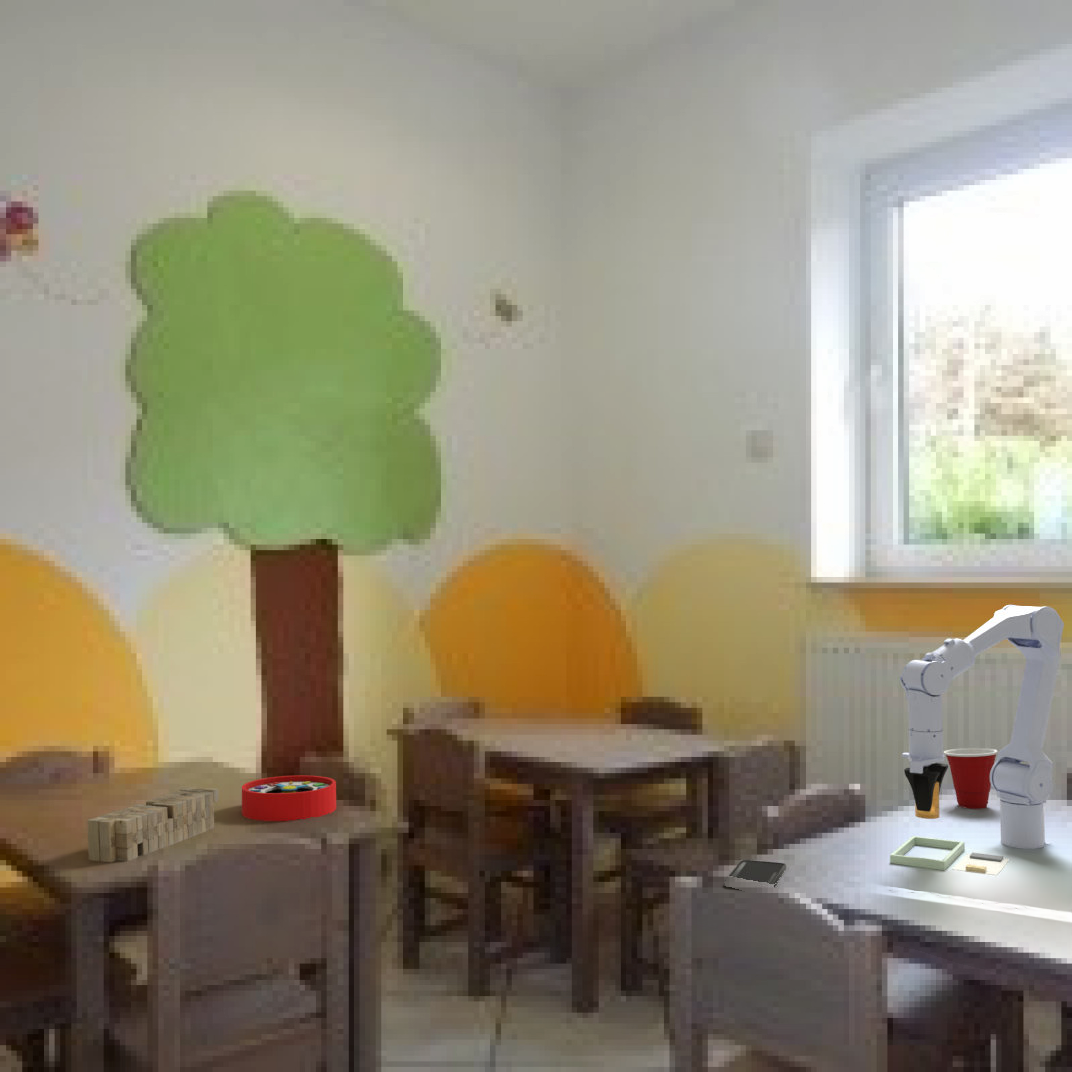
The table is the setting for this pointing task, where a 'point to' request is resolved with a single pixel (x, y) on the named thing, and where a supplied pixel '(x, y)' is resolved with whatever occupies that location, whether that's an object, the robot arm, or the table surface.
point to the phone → (759, 871)
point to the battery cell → (934, 809)
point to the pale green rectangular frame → (923, 862)
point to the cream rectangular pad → (982, 863)
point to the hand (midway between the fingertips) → (927, 808)
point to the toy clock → (288, 798)
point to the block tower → (151, 825)
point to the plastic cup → (971, 775)
